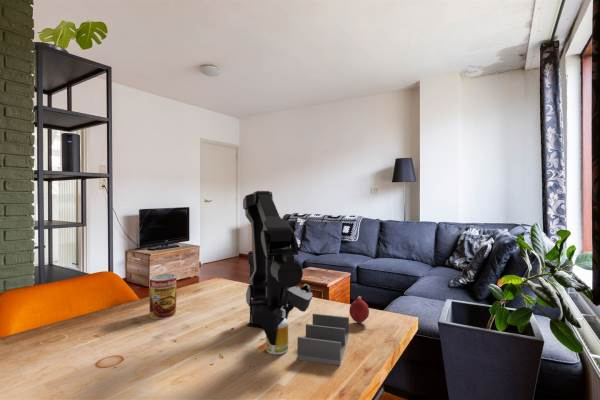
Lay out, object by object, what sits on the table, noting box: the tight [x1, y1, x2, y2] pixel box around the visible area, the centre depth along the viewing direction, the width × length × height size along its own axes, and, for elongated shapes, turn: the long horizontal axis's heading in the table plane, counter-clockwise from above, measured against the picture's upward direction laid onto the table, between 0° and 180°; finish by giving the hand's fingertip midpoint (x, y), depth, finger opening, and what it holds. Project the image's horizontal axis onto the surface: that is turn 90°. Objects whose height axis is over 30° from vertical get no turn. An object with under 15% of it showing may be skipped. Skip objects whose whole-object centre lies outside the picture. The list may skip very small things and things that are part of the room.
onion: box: [348, 296, 370, 325], centre depth 94 cm, size 6×6×8 cm
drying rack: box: [296, 313, 350, 366], centre depth 79 cm, size 10×16×5 cm, turn 164°
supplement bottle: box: [265, 309, 289, 355], centre depth 77 cm, size 5×5×10 cm
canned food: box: [148, 273, 177, 320], centre depth 100 cm, size 8×8×12 cm
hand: (277, 339), depth 77 cm, fingers closed on supplement bottle, 5 cm apart
